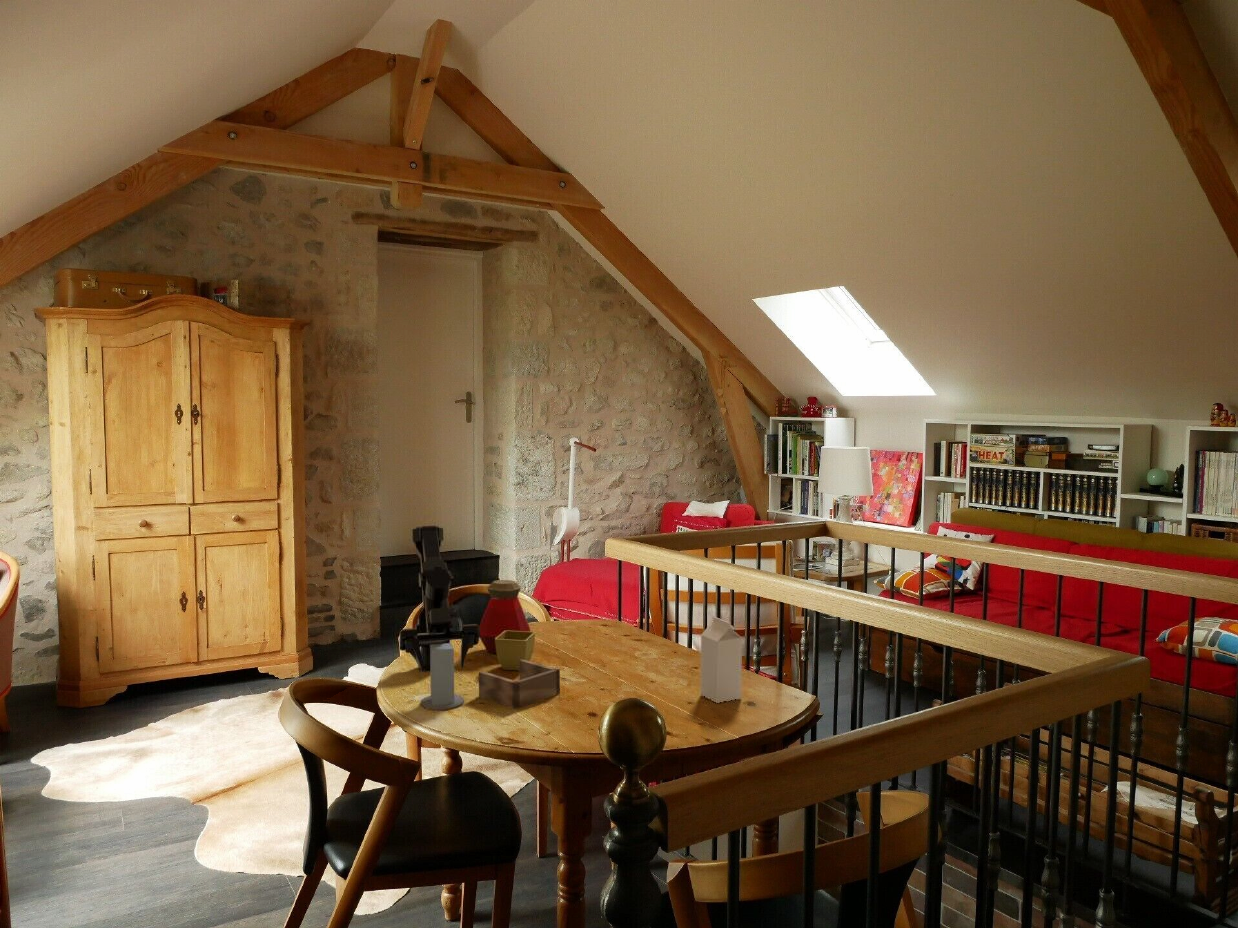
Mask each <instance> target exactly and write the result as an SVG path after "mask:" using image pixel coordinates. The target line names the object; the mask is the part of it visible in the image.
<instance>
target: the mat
mask: <svg viewBox="0 0 1238 928" xmlns="http://www.w3.org/2000/svg"><path fill="white" fill-rule="evenodd" d="M464 704H465V698H464V697H463V696H461V695H459V694H455V693H454V703H449V704H439V705H433V704H432V701H431V695H430V696H425V697H424V698H422V699H421V700H420V706H421V707H422V708H423V707H424V708H423V709H425V708H428V709H427V710H429V709H431V710H430V711H448V709H449V710H453V708H454V709H456V708H460V707H461V706H463V705H464Z"/></svg>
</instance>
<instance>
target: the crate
mask: <svg viewBox="0 0 1238 928" xmlns="http://www.w3.org/2000/svg"><path fill="white" fill-rule="evenodd" d="M560 672H561V669H559V668H554V667H552V666H549V665H545V664H541V663H537V662H535V661H527V660H523V659H522V660H519V675H518V676H519V678H518V679H519V680H514V679H510V678H507V677H503V676H500V675H497V674H495V673H494V674H493V673H490V672H488V671H484V670H481V671H478V697H480V698H483V699H486V700H488V701H491V702H494V703H497V704H501V705H503V706H506V707H510V708H512V709H515V710H516V709H519V708H522V707H525V706H528V705H531V704H533V703H534V704H535V703H536V702H539V701H543V700H546V699H548V698H551V697H555V696H557V695H560V693H561V688H560V687H561V681H560V680H561V677H560V676H561V673H560Z"/></svg>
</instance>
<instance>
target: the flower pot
mask: <svg viewBox="0 0 1238 928" xmlns="http://www.w3.org/2000/svg"><path fill="white" fill-rule="evenodd" d="M535 637H536V631H530V632H526V631H504V632H503V633H501V634H500V635H499V636H498V637H496V638H495V645H496V652H497V655H496V657H497V660H498V663H499V664H500V667H502V669H503V670H505V671H519V660H522V659H523V660H527V661H530V660H531V659H532V656H533V652H534V646H535V639H536V638H535Z"/></svg>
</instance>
